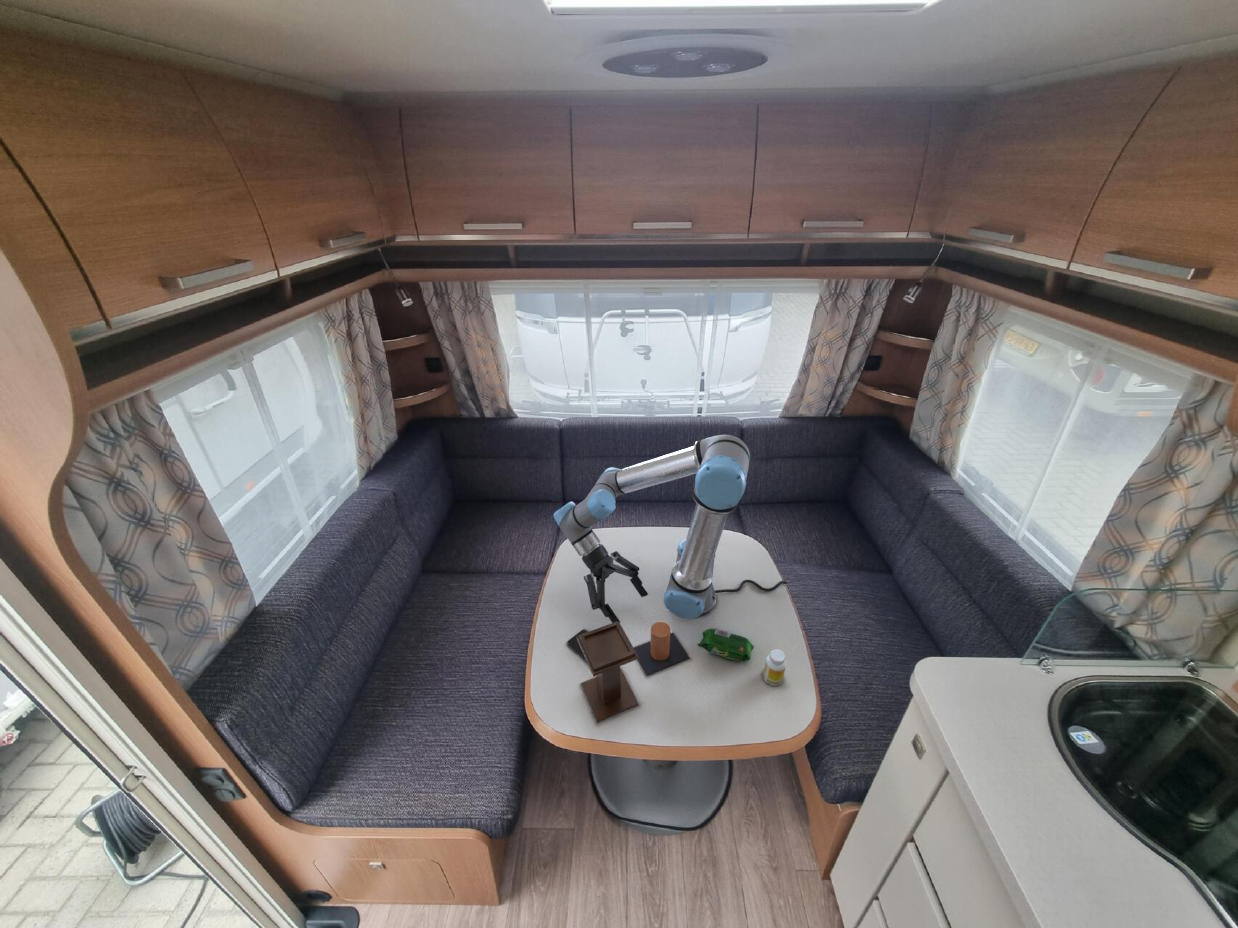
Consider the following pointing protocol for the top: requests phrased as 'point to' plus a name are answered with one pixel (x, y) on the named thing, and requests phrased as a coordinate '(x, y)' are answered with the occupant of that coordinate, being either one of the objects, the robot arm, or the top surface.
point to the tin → (660, 641)
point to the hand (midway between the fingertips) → (631, 609)
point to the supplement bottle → (774, 667)
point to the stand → (607, 670)
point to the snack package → (726, 645)
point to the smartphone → (577, 644)
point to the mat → (653, 665)
